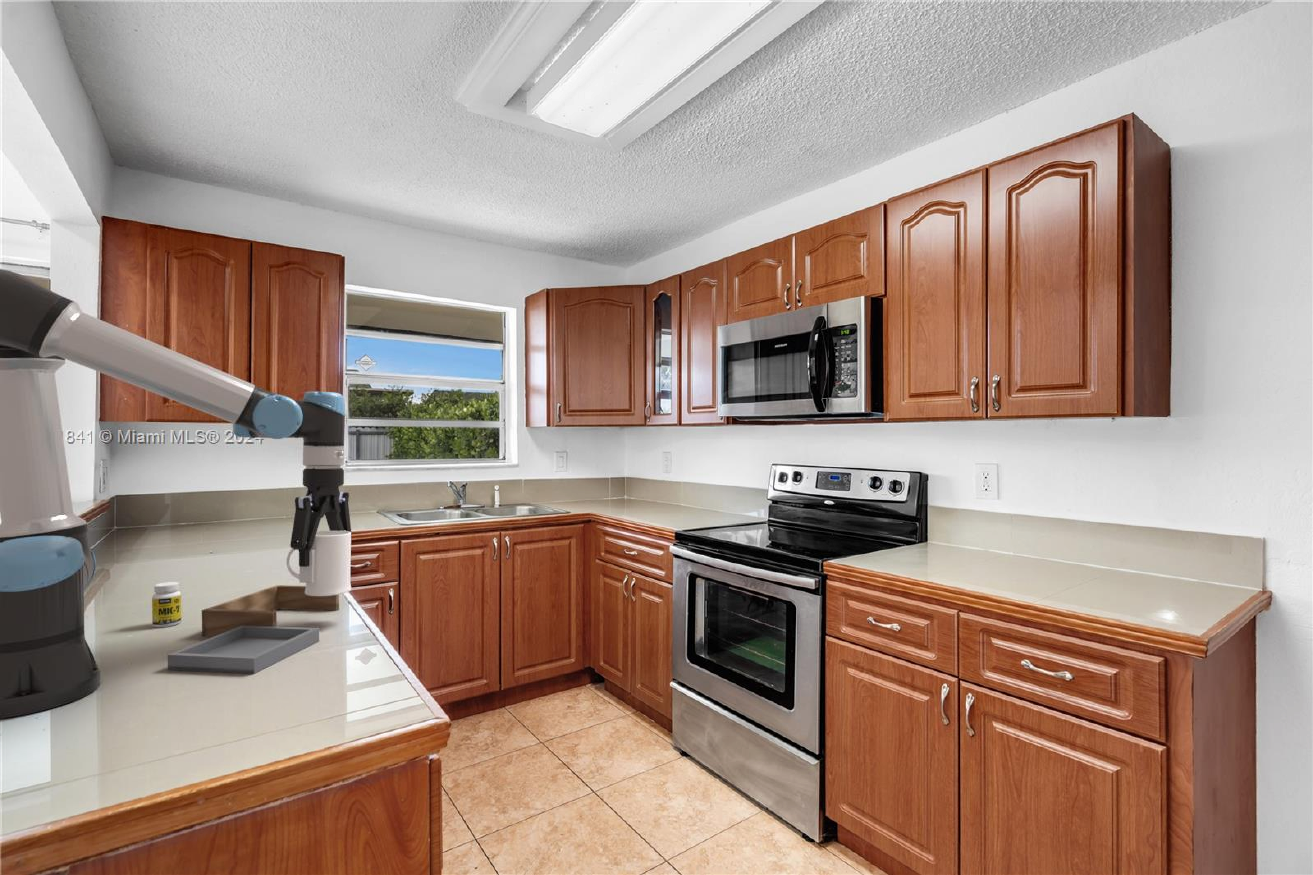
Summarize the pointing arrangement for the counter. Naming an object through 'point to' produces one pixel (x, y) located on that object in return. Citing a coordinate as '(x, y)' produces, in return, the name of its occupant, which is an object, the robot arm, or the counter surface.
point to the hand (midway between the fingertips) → (322, 577)
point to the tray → (243, 649)
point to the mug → (329, 564)
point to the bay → (262, 608)
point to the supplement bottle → (166, 605)
